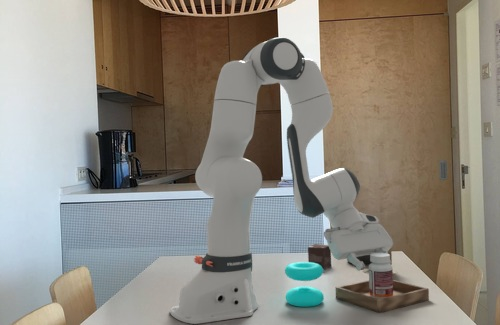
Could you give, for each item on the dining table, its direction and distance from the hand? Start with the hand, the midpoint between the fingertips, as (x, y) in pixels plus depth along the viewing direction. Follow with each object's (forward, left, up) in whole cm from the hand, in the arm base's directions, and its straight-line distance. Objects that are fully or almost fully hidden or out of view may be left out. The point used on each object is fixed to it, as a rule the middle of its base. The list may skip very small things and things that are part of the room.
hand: (375, 266), depth 141 cm
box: (+12, +38, -9) cm, 41 cm away
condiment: (+22, +20, -9) cm, 31 cm away
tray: (0, -2, -8) cm, 9 cm away
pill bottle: (0, -2, -8) cm, 8 cm away
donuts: (-18, +8, -9) cm, 21 cm away
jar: (+28, +35, -9) cm, 46 cm away
